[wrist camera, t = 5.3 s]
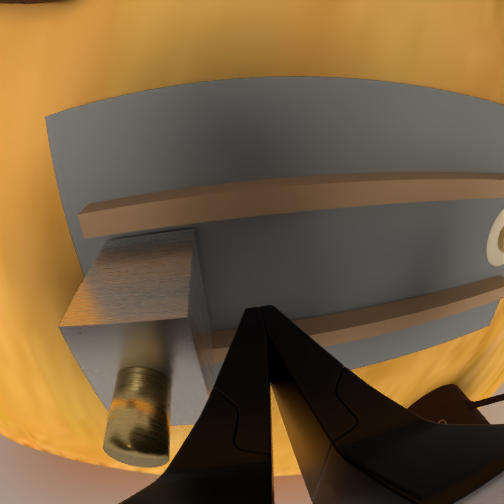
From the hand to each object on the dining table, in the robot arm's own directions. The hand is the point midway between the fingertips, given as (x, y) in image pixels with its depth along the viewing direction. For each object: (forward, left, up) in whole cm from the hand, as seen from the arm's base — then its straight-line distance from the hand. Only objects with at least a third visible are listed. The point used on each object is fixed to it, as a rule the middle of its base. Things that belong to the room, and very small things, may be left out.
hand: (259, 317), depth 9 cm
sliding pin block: (+3, 0, -2) cm, 4 cm away
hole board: (-4, 0, -4) cm, 6 cm away
